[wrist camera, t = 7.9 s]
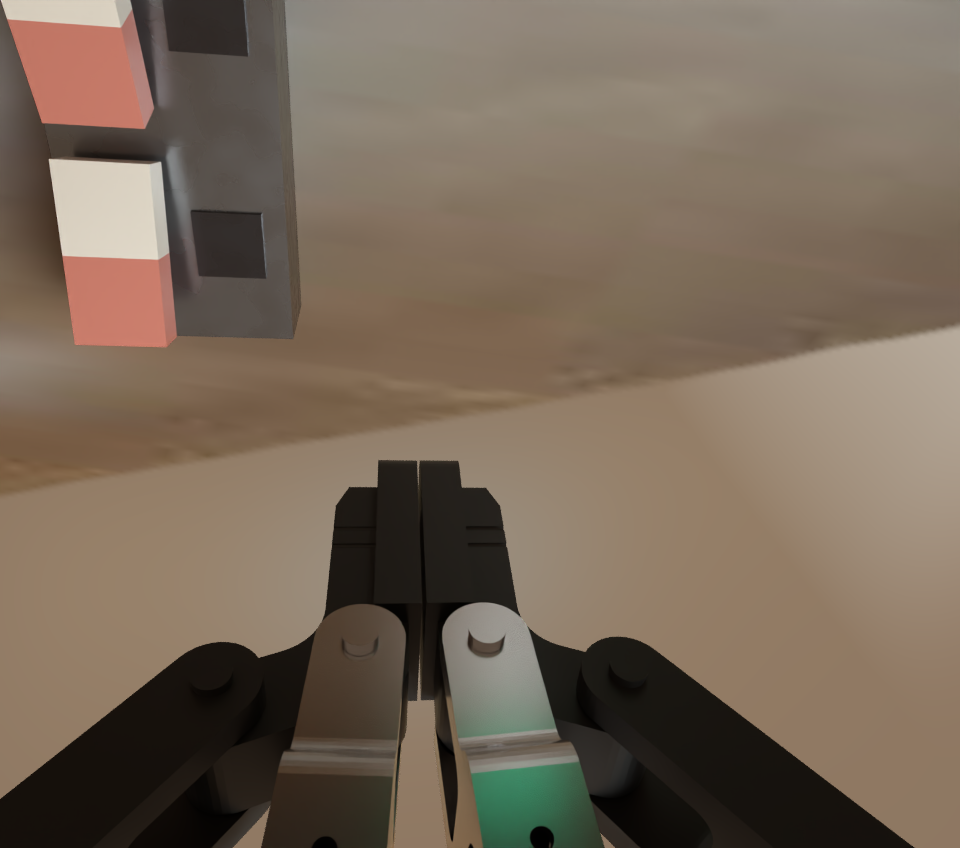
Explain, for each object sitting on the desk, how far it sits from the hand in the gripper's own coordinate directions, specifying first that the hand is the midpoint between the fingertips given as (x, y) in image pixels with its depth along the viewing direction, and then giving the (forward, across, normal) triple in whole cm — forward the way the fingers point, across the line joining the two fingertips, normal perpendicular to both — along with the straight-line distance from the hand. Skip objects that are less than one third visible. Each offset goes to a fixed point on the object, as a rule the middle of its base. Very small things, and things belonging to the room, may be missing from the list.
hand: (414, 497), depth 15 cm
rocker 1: (+24, +13, -5) cm, 27 cm away
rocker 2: (+24, +13, +5) cm, 27 cm away
